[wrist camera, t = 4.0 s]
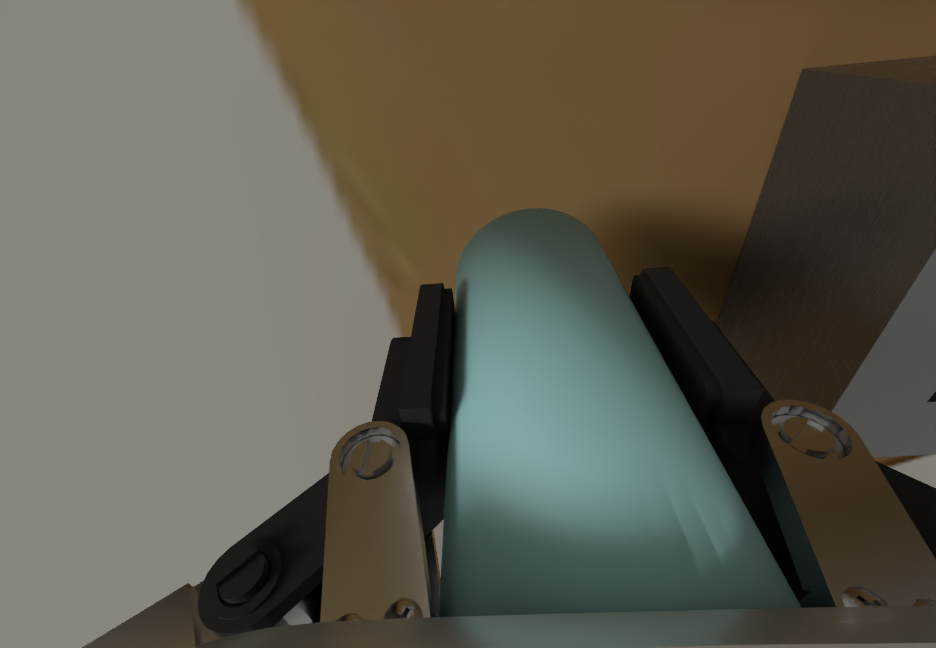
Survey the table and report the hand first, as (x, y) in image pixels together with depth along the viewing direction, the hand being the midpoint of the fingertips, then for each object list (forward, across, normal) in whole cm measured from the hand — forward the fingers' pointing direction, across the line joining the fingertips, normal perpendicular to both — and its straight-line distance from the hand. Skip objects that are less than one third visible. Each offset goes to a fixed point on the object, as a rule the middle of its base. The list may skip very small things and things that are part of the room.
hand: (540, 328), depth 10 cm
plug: (+2, 0, 0) cm, 2 cm away
